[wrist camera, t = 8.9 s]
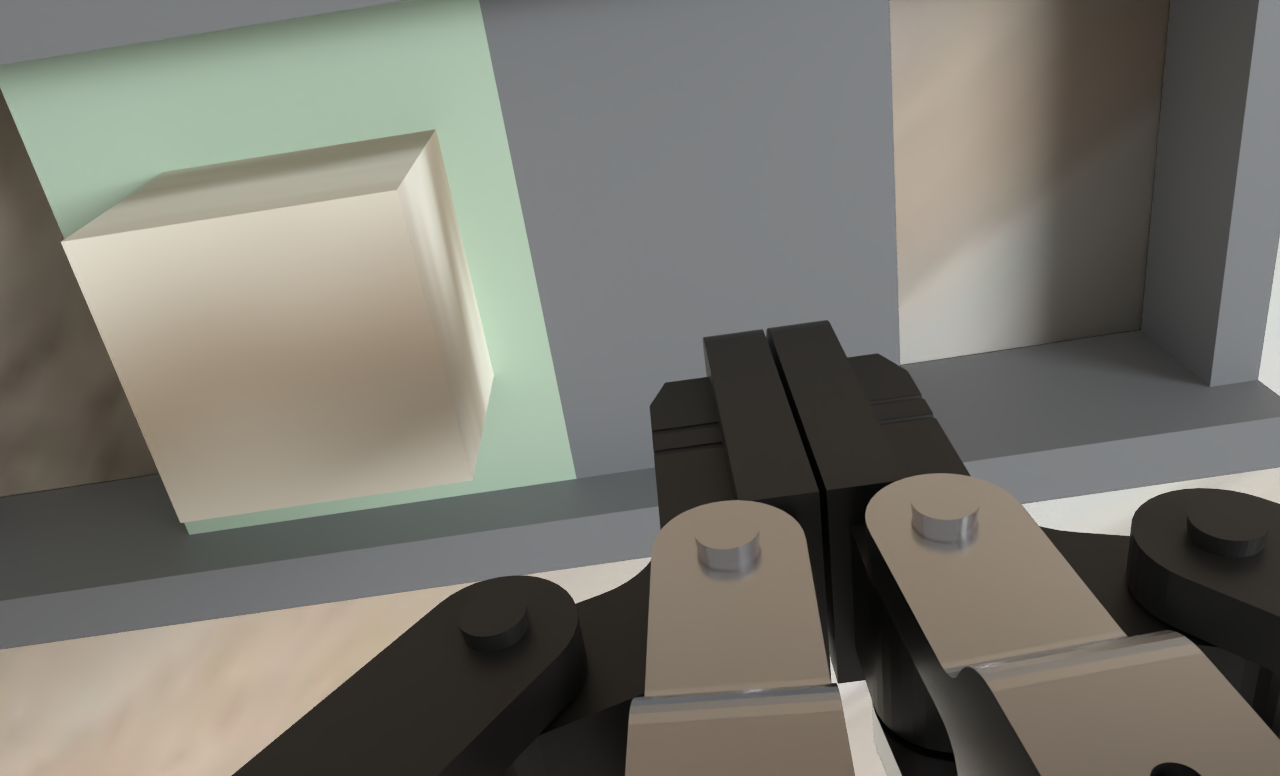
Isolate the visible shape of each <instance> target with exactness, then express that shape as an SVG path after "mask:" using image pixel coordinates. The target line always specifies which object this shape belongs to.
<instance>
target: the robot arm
mask: <svg viewBox="0 0 1280 776" xmlns="http://www.w3.org/2000/svg"><path fill="white" fill-rule="evenodd" d="M703 349H704V358H705V366H706V375H707V377H703V378H695V379H688V380H681V381H673V382H666V383H664V385H663V387H662V388H661V390H660V391H659V393H658V394H657V396H656V397H655V399H654V400H653V402H652V403H651V405H650V417H651V428H652V440H653V451H654V462H655V473H656V485H657V496H658V507H659V518H660V532H659V533H658V534H657V536H656V538H655V540H654V542H653V546H652V553H651V561H650V562H649V564H648V565H647V566H646V567H645V568H644V569H643V570H642V571H641V572H640V573H639V574H638V575H636V576H635V577H633V578H632V579H631V580H629V581H628V582H626V583H624V584H623V585H621V586H619V587H617V588H615V589H613V590H611V591H608V592H606V593H604V594H601V595H598V596H596V597H593V598H590V599H588V600H585V601H582V602H579V603H577V604H575V603H574V600H573V598H572V597H571V596H570V595H569V593H568V592H567V591H566V590H564V589H563V588H562V587H560V586H559V585H557V584H555V583H553V582H551V581H549V580H546V579H542V578H539V577H532V576H515V575H514V576H504V577H497V578H492V579H488V580H484V581H481V582H478V583H475V584H473V585H470V586H468V587H466V588H463V589H461V590H459V591H458V592H456V593H454V594H452V595H451V596H449V597H448V598H446V599H445V600H444V601H442V602H441V603H440V604H438V605H437V606H436V607H435V608H434V609H432V610H431V611H430V612H429V613H428V614H426V615H425V616H424V617H423V618H421V619H420V620H419V621H418V622H417V623H415V624H414V625H413V626H412V627H411V628H409V629H408V630H407V631H406V632H405V633H403V634H402V635H401V636H400V637H399V638H397V639H396V640H395V641H394V642H393V643H391V644H390V645H389V646H388V647H386V648H385V649H384V650H383V651H382V652H380V653H379V654H378V655H377V656H376V657H374V658H373V659H372V660H371V661H370V662H368V663H367V664H366V665H365V666H364V667H362V668H361V669H360V670H359V671H357V672H356V673H355V674H354V675H353V676H351V677H350V678H349V679H348V680H347V681H345V682H344V683H343V684H342V685H341V686H339V687H338V688H337V689H336V690H335V691H333V692H332V693H331V694H330V695H328V696H327V697H326V698H325V699H324V700H322V701H321V702H320V703H319V704H318V705H316V706H315V707H314V708H313V709H312V710H310V711H309V712H308V713H307V714H306V715H304V716H303V717H302V718H301V719H300V720H298V721H297V722H296V723H295V724H293V725H292V726H291V727H290V728H289V729H287V730H286V731H285V732H284V733H283V734H281V735H280V736H279V737H278V738H277V739H275V740H274V741H273V742H272V743H271V744H269V745H268V746H267V747H266V748H264V749H263V750H262V751H261V752H260V753H258V754H257V755H256V756H255V757H254V758H252V759H251V760H250V761H249V762H248V763H246V764H245V765H244V766H243V767H242V768H240V769H239V770H238V771H237V772H236V773H234V774H233V775H232V776H855V772H854V767H853V762H852V756H851V751H850V745H849V740H848V734H847V729H846V723H845V718H844V712H843V707H842V702H841V697H840V693H839V689H838V686H837V683H831V671H830V657H831V661H832V664H833V668H834V671H835V675H836V678H837V682H838V683H846V682H854V681H862V680H866V683H867V686H868V689H869V692H870V695H871V698H872V708H873V734H874V743H875V746H876V750H877V753H878V755H879V757H880V760H881V762H882V765H883V767H884V770H885V772H886V774H887V776H1280V504H1278V503H1275V502H1272V501H1269V500H1266V499H1263V498H1260V497H1256V496H1253V495H1249V494H1245V493H1240V492H1235V491H1230V490H1221V489H1206V488H1196V489H1183V490H1177V491H1171V492H1167V493H1164V494H1161V495H1158V496H1156V497H1154V498H1151V499H1149V500H1148V501H1146V502H1145V503H1144V504H1142V505H1141V506H1140V507H1139V508H1138V510H1137V511H1136V512H1135V514H1134V516H1133V519H1132V524H1131V533H1130V536H1120V535H1106V534H1092V533H1079V532H1069V531H1060V530H1054V529H1049V528H1044V527H1040V526H1038V524H1037V523H1036V522H1035V521H1034V519H1033V518H1032V517H1031V516H1030V514H1029V513H1028V512H1027V511H1026V509H1025V508H1024V507H1023V506H1022V504H1021V503H1020V502H1019V501H1018V500H1017V499H1016V498H1015V497H1014V496H1013V495H1012V494H1010V493H1009V492H1007V491H1006V490H1005V489H1003V488H1001V487H999V486H997V485H995V484H993V483H990V482H988V481H985V480H982V479H979V478H975V477H971V475H970V474H969V472H968V470H967V469H966V467H965V465H964V464H963V462H962V460H961V459H960V457H959V455H958V454H957V452H956V450H955V449H954V447H953V445H952V444H951V442H950V441H949V439H948V437H947V436H946V434H945V432H944V431H943V429H942V427H941V426H940V424H939V422H938V421H937V419H936V418H934V417H933V412H932V411H931V409H930V407H929V406H928V404H927V402H926V401H925V399H922V394H921V392H920V391H919V389H918V387H917V386H916V384H915V382H914V381H913V379H912V377H911V376H910V374H909V372H908V371H907V370H905V369H904V368H902V367H900V366H899V365H897V364H895V363H894V362H892V361H890V360H888V359H887V358H885V357H883V356H882V355H880V354H878V353H876V354H869V355H862V356H855V357H847V356H846V354H845V352H844V350H843V348H842V346H841V344H840V342H839V340H838V338H837V336H836V334H835V332H834V330H833V328H832V326H831V324H830V322H829V321H828V320H823V321H816V322H809V323H801V324H794V325H787V326H780V327H772V328H767V330H766V336H765V333H764V331H763V329H759V330H752V331H745V332H738V333H730V334H723V335H716V336H709V337H703ZM829 654H830V655H829Z"/></svg>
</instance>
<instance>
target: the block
mask: <svg viewBox="0 0 1280 776" xmlns="http://www.w3.org/2000/svg"><path fill="white" fill-rule="evenodd" d="M61 244H62V246H63V248H64V251H65V253H66V255H67V258H68V260H69V263H70V265H71V267H72V270H73V272H74V274H75V277H76V279H77V281H78V284H79V286H80V288H81V291H82V293H83V295H84V298H85V300H86V302H87V305H88V307H89V310H90V312H91V314H92V317H93V319H94V321H95V324H96V326H97V328H98V331H99V333H100V335H101V338H102V340H103V342H104V345H105V347H106V349H107V352H108V354H109V357H110V359H111V361H112V364H113V366H114V368H115V371H116V373H117V375H118V378H119V380H120V382H121V385H122V387H123V389H124V392H125V394H126V396H127V399H128V401H129V404H130V406H131V408H132V411H133V413H134V415H135V418H136V420H137V422H138V425H139V427H140V429H141V432H142V434H143V436H144V439H145V441H146V443H147V446H148V448H149V451H150V453H151V455H152V458H153V460H154V462H155V465H156V467H157V469H158V472H159V474H160V476H161V479H162V481H163V483H164V486H165V488H166V490H167V493H168V495H169V498H170V500H171V502H172V505H173V507H174V509H175V512H176V514H177V516H178V519H179V521H180V523H184V522H191V521H198V520H205V519H211V518H218V517H225V516H232V515H239V514H246V513H253V512H259V511H266V510H273V509H280V508H287V507H294V506H301V505H307V504H314V503H321V502H328V501H335V500H342V499H349V498H355V497H362V496H369V495H376V494H383V493H390V492H397V491H403V490H410V489H417V488H424V487H431V486H438V485H445V484H451V483H458V482H465V481H472V480H473V475H474V470H475V466H476V461H477V456H478V451H479V446H480V441H481V436H482V431H483V426H484V422H485V417H486V412H487V407H488V402H489V397H490V392H491V387H492V382H493V378H494V374H493V369H492V365H491V361H490V357H489V353H488V348H487V344H486V340H485V336H484V331H483V327H482V323H481V319H480V314H479V310H478V306H477V302H476V297H475V293H474V289H473V285H472V280H471V276H470V272H469V268H468V263H467V259H466V255H465V251H464V246H463V242H462V238H461V234H460V229H459V225H458V221H457V217H456V212H455V208H454V204H453V200H452V195H451V191H450V187H449V183H448V178H447V174H446V170H445V166H444V161H443V157H442V153H441V149H440V144H439V140H438V136H437V132H436V129H434V130H428V131H422V132H415V133H409V134H402V135H396V136H390V137H383V138H377V139H370V140H364V141H358V142H351V143H345V144H338V145H332V146H326V147H319V148H313V149H306V150H300V151H294V152H287V153H281V154H274V155H268V156H262V157H255V158H249V159H242V160H236V161H230V162H223V163H217V164H210V165H204V166H198V167H191V168H185V169H178V170H172V171H166V172H164V173H162V174H161V175H159V176H158V177H156V178H155V179H153V180H152V181H150V182H149V183H148V184H146V185H145V186H143V187H142V188H140V189H139V190H137V191H136V192H134V193H133V194H131V195H130V196H128V197H127V198H125V199H124V200H122V201H121V202H119V203H118V204H116V205H115V206H113V207H112V208H110V209H109V210H107V211H106V212H104V213H103V214H102V215H100V216H99V217H97V218H96V219H94V220H93V221H91V222H90V223H88V224H87V225H85V226H84V227H82V228H81V229H79V230H78V231H76V232H75V233H73V234H72V235H70V236H69V237H67V238H66V239H64V240H63V241H61Z"/></svg>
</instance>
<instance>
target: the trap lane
mask: <svg viewBox="0 0 1280 776" xmlns="http://www.w3.org/2000/svg"><path fill="white" fill-rule="evenodd" d="M0 88H1V91H2V93H3V96H4V98H5V100H6V103H7V105H8V107H9V110H10V112H11V115H12V117H13V119H14V122H15V124H16V126H17V129H18V131H19V133H20V136H21V138H22V141H23V143H24V145H25V148H26V150H27V152H28V155H29V157H30V159H31V162H32V164H33V167H34V169H35V171H36V174H37V176H38V178H39V181H40V183H41V185H42V188H43V190H44V193H45V195H46V197H47V200H48V202H49V204H50V207H51V209H52V211H53V214H54V216H55V219H56V221H57V223H58V226H59V228H60V230H61V233H62V235H63V238H64V239H66V238H67V237H69V236H70V235H72V234H73V233H75V232H76V231H78V230H79V229H81V228H82V227H84V226H85V225H87V224H88V223H90V222H91V221H93V220H94V219H96V218H97V217H99V216H100V215H102V214H103V213H104V212H106V211H107V210H109V209H110V208H112V207H113V206H115V205H116V204H118V203H119V202H121V201H122V200H124V199H125V198H127V197H128V196H130V195H131V194H133V193H134V192H136V191H137V190H139V189H140V188H142V187H143V186H145V185H146V184H148V183H149V182H150V181H152V180H153V179H155V178H156V177H158V176H159V175H161V174H162V173H164V172H166V171H172V170H178V169H185V168H191V167H198V166H204V165H210V164H217V163H223V162H230V161H236V160H242V159H249V158H255V157H262V156H268V155H274V154H281V153H287V152H294V151H300V150H306V149H313V148H319V147H326V146H332V145H338V144H345V143H351V142H358V141H364V140H370V139H377V138H383V137H390V136H396V135H402V134H409V133H415V132H422V131H428V130H434V129H436V132H437V136H438V140H439V144H440V149H441V153H442V157H443V161H444V166H445V170H446V174H447V178H448V183H449V187H450V191H451V195H452V200H453V204H454V208H455V212H456V217H457V221H458V225H459V229H460V234H461V238H462V242H463V246H464V251H465V255H466V259H467V263H468V268H469V272H470V276H471V280H472V285H473V289H474V293H475V297H476V302H477V306H478V310H479V314H480V319H481V323H482V327H483V331H484V336H485V340H486V344H487V348H488V353H489V357H490V361H491V365H492V369H493V374H494V378H493V382H492V387H491V392H490V397H489V402H488V407H487V412H486V417H485V422H484V426H483V431H482V436H481V441H480V446H479V451H478V456H477V461H476V466H475V470H474V475H473V480H472V481H465V482H458V483H451V484H445V485H438V486H431V487H424V488H417V489H410V490H403V491H397V492H390V493H383V494H376V495H369V496H362V497H355V498H349V499H342V500H335V501H328V502H321V503H314V504H307V505H301V506H294V507H287V508H280V509H273V510H266V511H259V512H253V513H246V514H239V515H232V516H225V517H218V518H211V519H205V520H198V521H191V522H184V523H180V521H179V519H178V516H177V514H176V512H175V509H174V507H173V505H172V502H171V500H170V498H169V495H168V493H167V490H166V488H165V486H164V483H163V481H162V479H161V476H160V474H158V475H151V476H144V477H137V478H131V479H124V480H117V481H110V482H103V483H97V484H90V485H83V486H76V487H69V488H63V489H56V490H49V491H42V492H35V493H28V494H22V495H15V496H8V497H1V498H0V649H7V648H14V647H21V646H28V645H35V644H42V643H49V642H56V641H63V640H70V639H77V638H84V637H91V636H98V635H105V634H112V633H119V632H126V631H133V630H140V629H147V628H154V627H161V626H168V625H175V624H182V623H189V622H196V621H204V620H211V619H218V618H225V617H232V616H239V615H246V614H253V613H260V612H267V611H274V610H281V609H288V608H295V607H302V606H309V605H316V604H323V603H330V602H337V601H344V600H351V599H358V598H365V597H372V596H379V595H386V594H393V593H400V592H407V591H414V590H421V589H428V588H435V587H442V586H449V585H456V584H463V583H470V582H477V581H484V580H488V579H492V578H497V577H504V576H514V575H515V576H520V575H527V574H534V573H541V572H548V571H555V570H562V569H569V568H576V567H583V566H590V565H597V564H604V563H611V562H618V561H625V560H632V559H639V558H646V557H651V553H652V546H653V542H654V540H655V538H656V536H657V534H658V533H659V532H660V518H659V507H658V496H657V485H656V473H655V462H654V451H653V440H652V428H651V417H650V405H651V403H652V402H653V400H654V399H655V397H656V396H657V394H658V393H659V391H660V390H661V388H662V387H663V385H664V383H666V382H673V381H681V380H688V379H695V378H703V377H707V375H706V366H705V358H704V349H703V337H709V336H716V335H723V334H730V333H738V332H745V331H752V330H759V329H763V331H764V333H765V336H766V330H767V328H772V327H780V326H787V325H794V324H801V323H809V322H816V321H823V320H828V321H829V322H830V324H831V326H832V328H833V330H834V332H835V334H836V336H837V338H838V340H839V342H840V344H841V346H842V348H843V350H844V352H845V354H846V356H847V357H855V356H862V355H869V354H876V353H878V354H880V355H882V356H883V357H885V358H887V359H888V360H890V361H892V362H894V363H895V364H897V365H899V366H900V367H902V368H904V369H905V370H907V371H908V372H909V374H910V376H911V377H912V379H913V381H914V382H915V384H916V386H917V387H918V389H919V391H920V392H921V394H922V399H925V401H926V402H927V404H928V406H929V407H930V409H931V411H932V412H933V417H934V418H936V419H937V421H938V422H939V424H940V426H941V427H942V429H943V431H944V432H945V434H946V436H947V437H948V439H949V441H950V442H951V444H952V445H953V447H954V449H955V450H956V452H957V454H958V455H959V457H960V459H961V460H962V462H963V464H964V465H965V467H966V469H967V470H968V472H969V474H970V475H971V477H975V478H979V479H982V480H985V481H988V482H990V483H993V484H995V485H997V486H999V487H1001V488H1003V489H1005V490H1006V491H1007V492H1009V493H1010V494H1012V495H1013V496H1014V497H1015V498H1016V499H1017V500H1018V501H1019V502H1020V503H1021V504H1025V503H1032V502H1039V501H1046V500H1053V499H1060V498H1067V497H1074V496H1081V495H1088V494H1095V493H1102V492H1109V491H1117V490H1124V489H1131V488H1138V487H1145V486H1152V485H1159V484H1166V483H1173V482H1180V481H1187V480H1194V479H1201V478H1208V477H1215V476H1222V475H1229V474H1236V473H1243V472H1250V471H1257V470H1264V469H1271V468H1278V467H1280V396H1279V395H1277V394H1276V393H1275V392H1273V391H1272V390H1271V389H1269V388H1268V387H1267V386H1265V385H1264V384H1263V383H1261V382H1260V381H1259V380H1258V375H1259V369H1260V362H1261V355H1262V349H1263V342H1264V336H1265V329H1266V322H1267V316H1268V309H1269V302H1270V296H1271V289H1272V283H1273V276H1274V269H1275V263H1276V256H1277V250H1278V243H1279V236H1280V0H1170V10H1169V21H1168V32H1167V43H1166V54H1165V65H1164V77H1163V88H1162V99H1161V110H1160V121H1159V132H1158V144H1157V155H1156V166H1155V177H1154V188H1153V199H1152V211H1151V222H1150V233H1149V244H1148V255H1147V266H1146V277H1145V289H1144V300H1143V311H1142V322H1141V330H1138V331H1132V332H1125V333H1118V334H1111V335H1104V336H1097V337H1091V338H1084V339H1077V340H1070V341H1063V342H1057V343H1050V344H1043V345H1036V346H1029V347H1023V348H1016V349H1009V350H1002V351H995V352H989V353H982V354H975V355H968V356H961V357H954V358H948V359H941V360H934V361H927V362H920V363H914V364H907V365H900V346H899V312H898V278H897V244H896V211H895V177H894V143H893V110H892V76H891V42H890V9H889V0H0Z"/></svg>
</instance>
